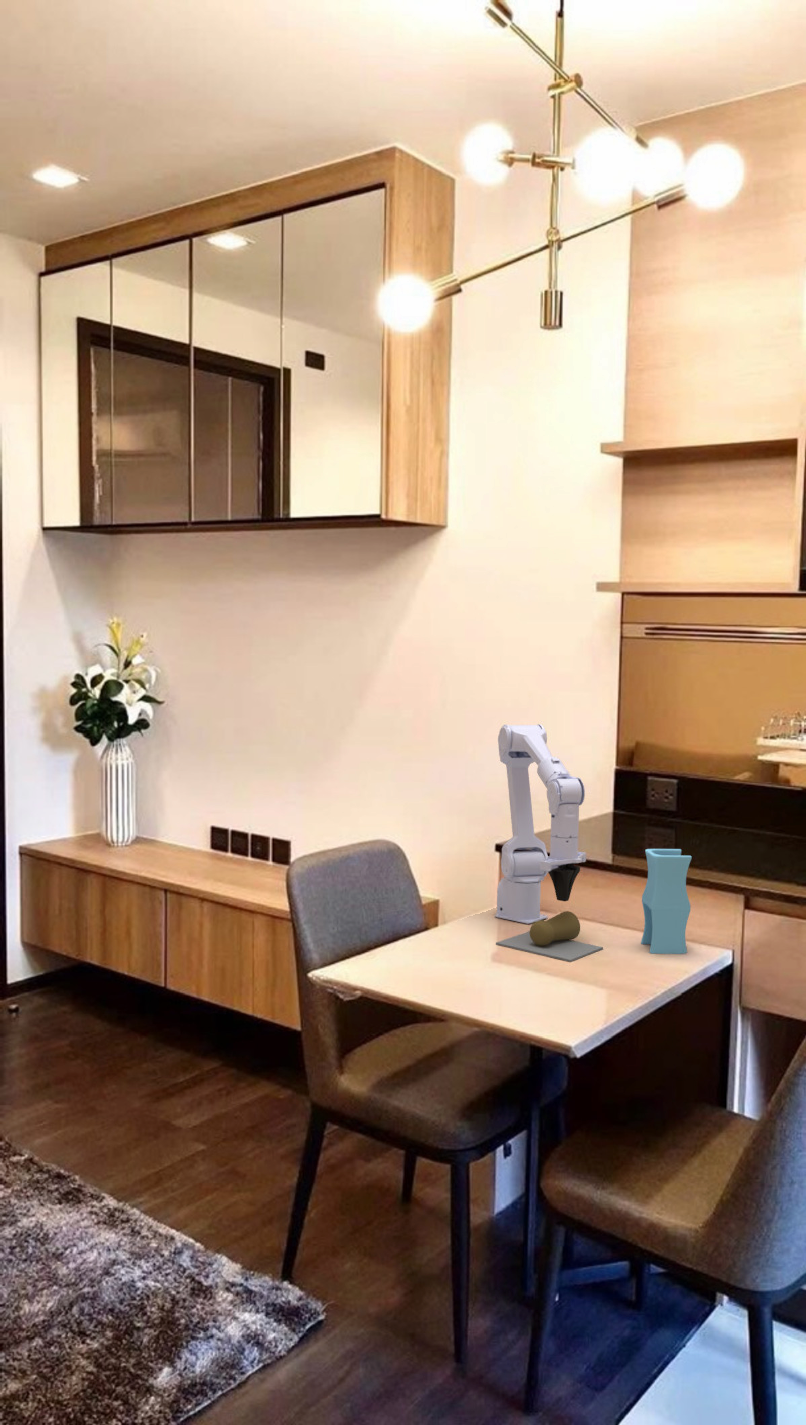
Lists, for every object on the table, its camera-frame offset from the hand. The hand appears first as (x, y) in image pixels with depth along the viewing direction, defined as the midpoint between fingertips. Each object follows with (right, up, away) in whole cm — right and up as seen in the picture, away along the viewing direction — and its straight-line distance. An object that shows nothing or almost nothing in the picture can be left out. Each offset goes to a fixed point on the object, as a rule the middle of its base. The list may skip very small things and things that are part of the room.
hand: (562, 900), depth 227 cm
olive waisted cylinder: (+2, -6, +3) cm, 7 cm away
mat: (-3, -9, -3) cm, 10 cm away
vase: (+21, -10, -3) cm, 23 cm away
